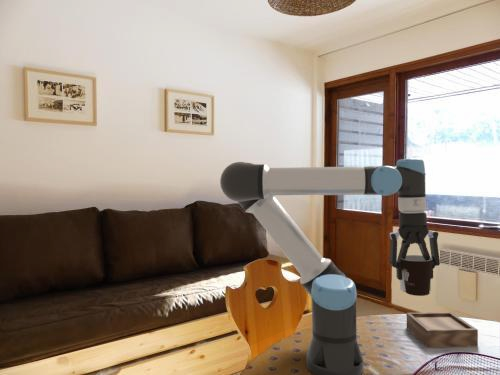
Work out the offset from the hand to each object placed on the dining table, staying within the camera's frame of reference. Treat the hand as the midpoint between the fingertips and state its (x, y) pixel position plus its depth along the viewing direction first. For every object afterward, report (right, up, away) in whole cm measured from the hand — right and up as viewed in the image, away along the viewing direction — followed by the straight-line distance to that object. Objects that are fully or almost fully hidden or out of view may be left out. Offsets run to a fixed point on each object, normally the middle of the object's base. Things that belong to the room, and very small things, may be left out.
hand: (415, 289), depth 112 cm
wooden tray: (+12, -17, +9) cm, 23 cm away
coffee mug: (0, 0, 0) cm, 1 cm away
